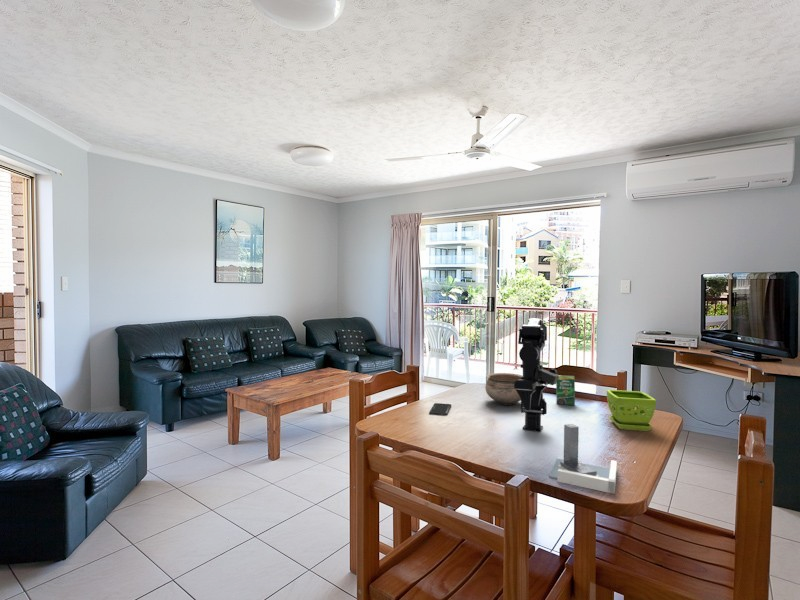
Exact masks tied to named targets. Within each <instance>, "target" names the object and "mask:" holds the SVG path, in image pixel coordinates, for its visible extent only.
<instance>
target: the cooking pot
mask: <svg viewBox="0 0 800 600" xmlns="http://www.w3.org/2000/svg"><path fill="white" fill-rule="evenodd" d="M486 376H487V380H486V383H485V391H486V392H485V393H486V394H487V395H488V397H490V398H491V399H492V400H493V401H496V403H498V404H500V405H504V406H512V405H515V404H517V403H519V402H521V398H520V396H519V394H518V393H517V391H516V389H514V382H515V381H516V380H518V379H521V377H523V374H516V373H510V372H495V373H494V372H493V373H489V374H487V375H486Z"/></svg>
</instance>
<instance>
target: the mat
mask: <svg viewBox="0 0 800 600" xmlns="http://www.w3.org/2000/svg"><path fill="white" fill-rule="evenodd" d="M560 461H564V458H563V459H561V458H556V459H555V462H554V464H553V466H552V468H551V471H550V473H549V475H548V478H551V479H554V480H558V469H562V470H567V469H565V468H564V467H562V466H560ZM582 463H583V462H582ZM583 464H585V465H587V466H588V467H590V468H592V469H594V470H595V471H597V477H602V478H607V479H609V473H610V467H603V466H599V465H598V466H597V465H593V464H587V463H583ZM567 471H568V470H567Z"/></svg>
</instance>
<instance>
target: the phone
mask: <svg viewBox="0 0 800 600" xmlns="http://www.w3.org/2000/svg"><path fill="white" fill-rule="evenodd" d="M451 408H452V404H450V403H439V402H434V403H433V405H432V407H431V408H430V410H429V413H428V414H429V415H432V414H434V415H433V416H446V417H447V416H448V415H449V413H450V411H451Z"/></svg>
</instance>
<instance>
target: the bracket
mask: <svg viewBox="0 0 800 600" xmlns="http://www.w3.org/2000/svg"><path fill="white" fill-rule="evenodd" d="M579 429H580V427H579V426H578V425H576V424H573V423H568V424H567V423H566V424H564V427H563V460H564V461H560V466H562V467H564V468H565V469H567V470H568V471H572V472H577V473H582V474H587V475H592V476H597V471H595V470H594V469H592V468H590V467H588V466H587V465H585V464H586V463H584V464H583V462H581V461H580V460H579V432H580V431H579Z"/></svg>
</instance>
